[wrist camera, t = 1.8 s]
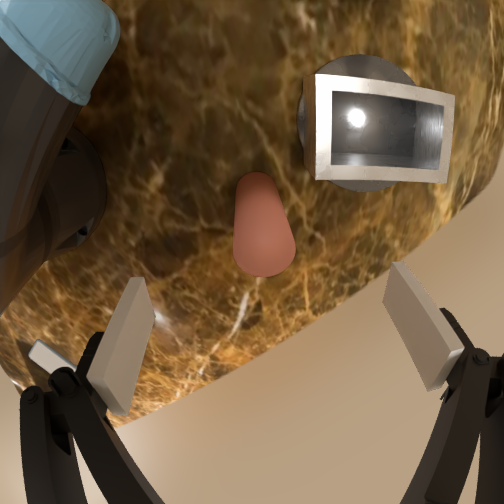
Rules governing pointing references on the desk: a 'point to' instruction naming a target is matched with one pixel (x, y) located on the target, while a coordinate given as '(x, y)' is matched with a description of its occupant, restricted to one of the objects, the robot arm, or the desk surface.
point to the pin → (261, 227)
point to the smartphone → (48, 357)
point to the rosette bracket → (373, 125)
